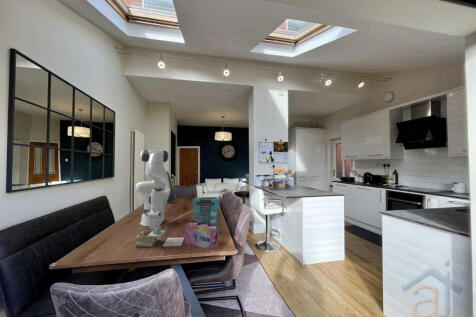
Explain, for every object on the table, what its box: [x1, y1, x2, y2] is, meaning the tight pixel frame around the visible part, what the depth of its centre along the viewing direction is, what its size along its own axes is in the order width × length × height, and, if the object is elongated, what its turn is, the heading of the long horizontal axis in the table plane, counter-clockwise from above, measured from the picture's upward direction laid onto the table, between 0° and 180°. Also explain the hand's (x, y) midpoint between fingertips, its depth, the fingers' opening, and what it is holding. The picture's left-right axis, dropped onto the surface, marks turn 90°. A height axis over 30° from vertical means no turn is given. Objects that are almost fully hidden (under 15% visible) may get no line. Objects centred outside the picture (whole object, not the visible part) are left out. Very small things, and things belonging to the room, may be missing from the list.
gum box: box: [184, 220, 219, 251], centre depth 133 cm, size 24×8×14 cm, turn 61°
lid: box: [148, 227, 167, 238], centre depth 135 cm, size 10×9×4 cm
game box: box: [192, 197, 220, 234], centre depth 157 cm, size 20×6×27 cm, turn 84°
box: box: [135, 229, 158, 248], centre depth 134 cm, size 12×10×7 cm
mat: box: [162, 237, 185, 247], centre depth 136 cm, size 14×12×1 cm
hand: (157, 231), depth 134 cm, fingers closed on lid, 2 cm apart
